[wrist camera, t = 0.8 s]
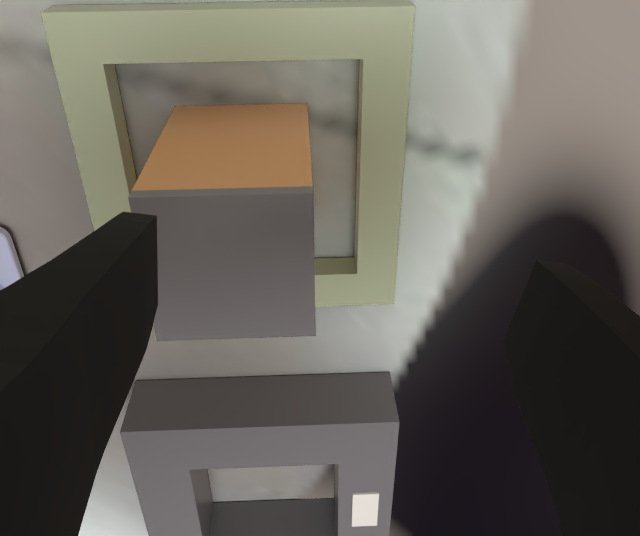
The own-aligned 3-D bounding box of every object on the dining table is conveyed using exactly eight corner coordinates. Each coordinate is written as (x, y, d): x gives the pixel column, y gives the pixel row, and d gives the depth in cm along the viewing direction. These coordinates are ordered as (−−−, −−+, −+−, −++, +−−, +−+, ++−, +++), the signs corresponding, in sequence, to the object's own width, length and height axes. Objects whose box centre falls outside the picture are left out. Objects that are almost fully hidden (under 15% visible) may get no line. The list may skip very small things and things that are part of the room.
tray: (121, 295, 25) (114, 312, 24) (54, 5, 19) (40, 12, 18) (389, 286, 25) (394, 304, 24) (408, -1, 19) (415, 6, 18)
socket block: (172, 532, 33) (162, 587, 31) (136, 380, 27) (119, 433, 25) (378, 524, 34) (385, 577, 31) (389, 371, 27) (399, 423, 25)
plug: (191, 222, 23) (157, 340, 17) (175, 105, 20) (128, 198, 15) (309, 218, 23) (315, 335, 17) (307, 103, 21) (313, 193, 15)
